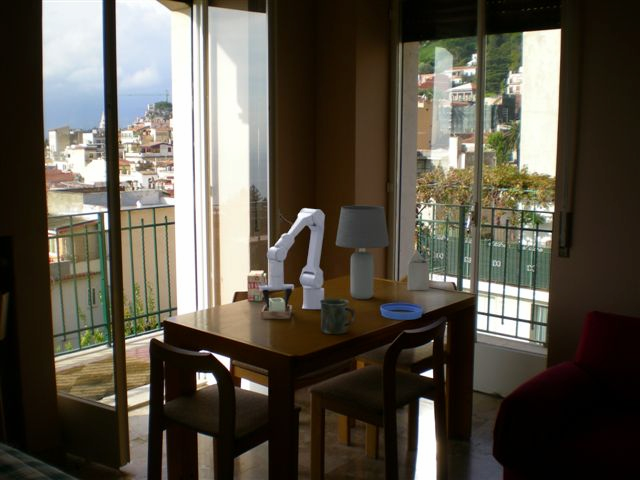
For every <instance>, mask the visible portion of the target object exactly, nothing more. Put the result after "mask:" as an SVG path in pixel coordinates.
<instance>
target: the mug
mask: <svg viewBox="0 0 640 480" xmlns="http://www.w3.org/2000/svg"><path fill="white" fill-rule="evenodd" d="M320 303H321V309H320V330H321V332H322V333H324V334H329V335H341V334H343V335H344V334H346V333H347V332H348V327H349V326H351V325H353V323H354V322H355V318H356V313H355V310H354V309H353V308H351V307H348V305H349V303H350V302H349V300H347V299H344V298H338V297H337V298H336V297H329V298H327V297H326V298H324V299H322V300H321V301H320ZM349 312H350V313H351V317H350V322H348V318H349V317H348V315H349V314H348V313H349Z"/></svg>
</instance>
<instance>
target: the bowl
mask: <svg viewBox="0 0 640 480" xmlns="http://www.w3.org/2000/svg"><path fill="white" fill-rule="evenodd" d="M423 311H424V308H423V306H421V305H418V304H415V303H414V304H413V303H408V302H390V303H385V304H382V305H380V312H381V316H383V317H384V318H386V319H390V320H397V321H398V320H399V321H405V320H406V321H408V320H409V321H411V320H416V319H419V318H421V317H422V314H423Z"/></svg>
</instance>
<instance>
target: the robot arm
mask: <svg viewBox="0 0 640 480" xmlns="http://www.w3.org/2000/svg"><path fill="white" fill-rule="evenodd" d="M325 217H326V214H324V212H323V211H322V210H321V209H318V208H317V209H314V208H307V207H304V208H302V209H301V210H300V211H299V213H298V214H297V218H296V220H295V222H294V223H293V224H292V226H291V228H290V229H289V231H288V232H287V233H286V232H285V233H283V234H281V235H280V238H279V239H278V241H276V243H275V244H274V246H271V247H269V248H268V251H267V252H266V258H267V260H268V264H269V284H267V285H265V286H259V290H260V291H262V293H263V295H264V297H263V298H264V300H265V303H266V304H265V305H267V308H269V299H270V291H283V293H284V301H285V307H287V305H289V304H288V303H289V300H290V298H291V295H292V293H293V290H295V285H294V284H289V283H288V284H287V283H286V284H285V283H284V280H285V279H284V260H286V258H287V256H288V255H287V254H288V251H289V250H290V249H291V247H292V246H293V245H294V243H295V237H296V236H298V235H299V233H300V232H301V231H302V230H303V229H304V228H305V226H308V228H309V229H310V239H309V245H308V247H309V248H308V255H307V261H306V265H305V266H304V267H303V268H302V269H301V270H302V271H301V274H300V276H299V282H300V285H302V286H301V287H302V289H303V290H302V291H303V301H302V302H303V304H302V307H301V309H302V310H321V303H320V301H321V300H322V299H325V288H323V287H322V286H323V284H324V272H323V270H322V268H320V262H321V254H322V246H323V239H324V233H325V232H324V231H325V219H326V218H325Z"/></svg>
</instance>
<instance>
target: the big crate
mask: <svg viewBox="0 0 640 480" xmlns="http://www.w3.org/2000/svg"><path fill="white" fill-rule="evenodd" d="M292 313H293V305H291V304H287V307H285V312H272V311H269V308H267V305H266V304H264V305H263V307H262V309H261V311H260V314H261V315H260V317H261V318H260V319H261V320H291V317H292Z"/></svg>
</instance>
